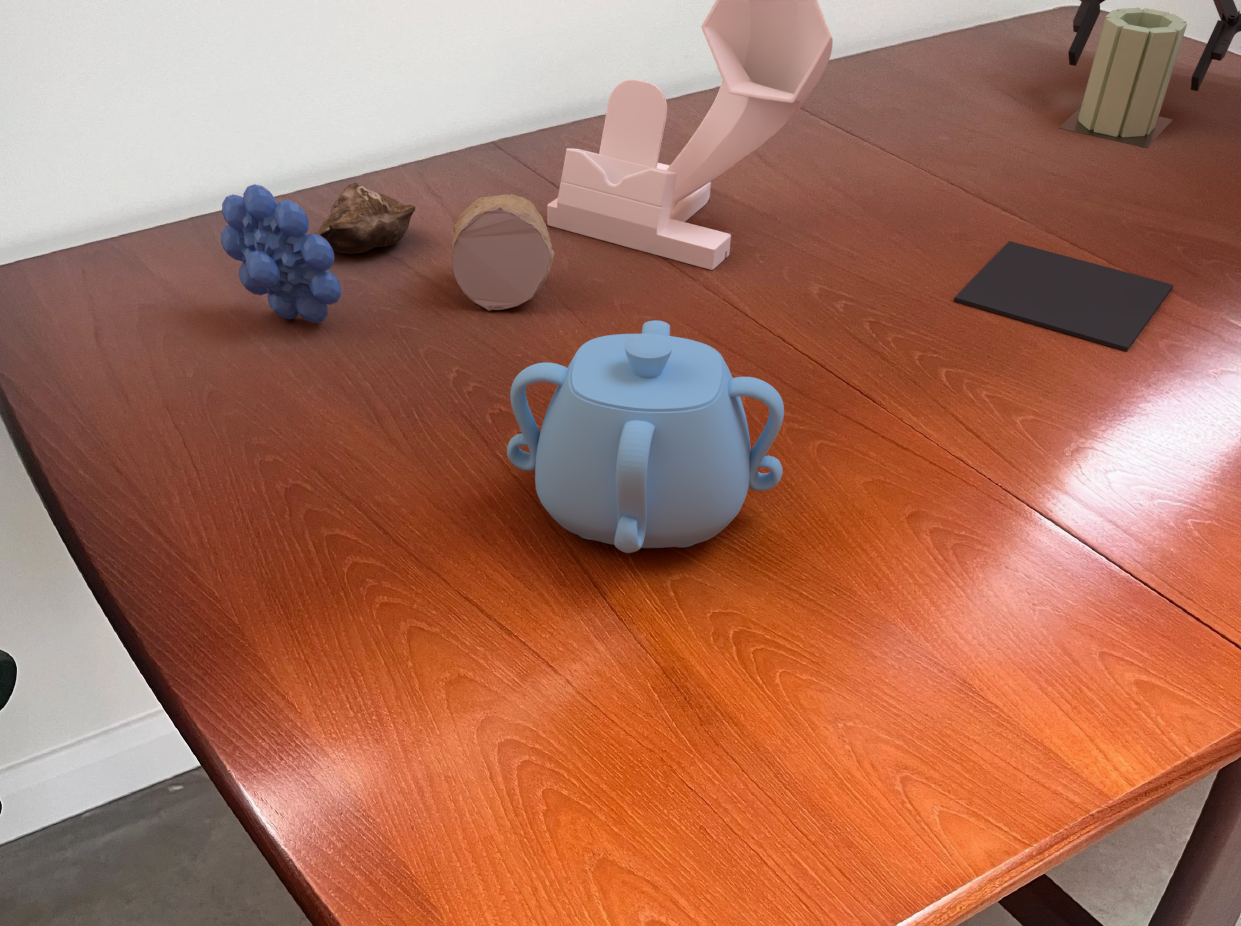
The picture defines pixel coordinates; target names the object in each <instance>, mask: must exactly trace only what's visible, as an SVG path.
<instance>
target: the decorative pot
mask: <svg viewBox="0 0 1241 926" xmlns="http://www.w3.org/2000/svg"><path fill="white" fill-rule="evenodd" d="M569 362H570V363H569V364H568V366H564V365H561V364H559V363H554V362H547V361H546V362H537V363H534V364H531V365H529V366H527V367H525V368H524V369H522V370H521V371H520V372H519V373H518V374H517V375H516V376H515V378H514V380H513V382H512V384H511V387H510V393H509V398H510V405H511V409H512V412H513V415H514V418H515V420H516V423H517V425H518V427H519V429H520V431H521V432H520V433H517V434H515V435H513V436H512V437H511V438H510V440H509V441H508V444H507V447H506V448H507V449H506V454H507V458H508V460H509V462H510V463H511V465H513V466H514V467H515V468H516V469H519V470H522V471H525V472H532V471H534V474H535V475H534V482H535V493H536V494H537V497H538V499H539V502H540V504H541V505H542V506H543V508H544V509H545V510H546V512H547V513H548V514H549V515H550V516H551V518H552V519H553V520H554V521H555V522H557V524H558V525H560V526H561V527H562V528H563V529H565V530H567V531H569V532H570V533H572V534H574V535H578V536H579V537H580V538H582V539H585V540H588V541H589V540H591V541H596V542H600V543H604V544H609V545H614V547H615V548H616V549H617V550H618V551H620V552H623V553H625V554H632V553H635V552H638V551H639V550H640V549H664V548H688V547H692V546H694V545H696V544H700V543H703V542H706V541H709V540H710V539H713V538H714V537H716V536H717V535H719V534H720V533H721V532H723V530H725V529H726V528H727V527H728V526H729V525H730V524H731V522H733V520H735V518H736V517H737V516H738V515H739V513H740V511H741V508H742V507H743V505H744V502H745V500H746V498H747V494H748V491H749V489H750V490H752V491H754V492H766V491H770V490H772V489H774V488H776V487H777V485H779V483H780V482H781V480H782V477H783V473H784V472H783V465H782V463H781V462H780V460H779V459H778V458H776V456H772V455H767V454H768V452H769V451H770V449H771V447H772V445H773V444H774V442H775V440H776V438H777V436H778V434H779V433H780V430H781V427H782V425H783V422H784V417H785V406H784V401H783V398H782V396H781V394H780V393H779V392H778V390H776V388H775V387H774V386H773V385H771V384H770V383H768V382H766V381H765V380H762V379H760V378H757V377H752V376H735V377H733V375H732V372H731V371H730V368H729V366H728V364H727V362H726V361H725V359H724V357H723V355H722V354H721V352H719V351H718V350H717V349H715V348H714V347H712V346H710V345H709V344H706V343H703V342H701V341H697V340H694V339H690V338H685V337H679V336H675V335H674V336H673V335H671V325H670V324H669V323H668V322H666V321H663V320H654V319H653V320H647V321H645V322H644V323H643V324H642V328H641V333H619V334H609V335H603V336H598V337H595V338H592V339H590V340H588V341H586V342H585V343H583V344H582V345H581V346H580V347H579V348H578V350H577V351H576V352H575V354H574V355H573V357H572V359H571V361H569ZM535 383H549V384H554V385H557V386H556V389H555V391H554V392H553V395H552V397H551V399H550V402H549V403H548V406H547V408H546V411H545V415H544V418H543V420H542V424H541V428H539V426H538V424H537V422H536V420H535V417H534V415H533V413H532V410H531V408H530V405H529V401H528V397H527V391H526V389H527V387H528V386H529V385H532V384H535ZM742 397H743V398H744V397H745V398H752V399H755V400H757V401H759V402H762V403H763V404H764V405H765V406H766V407H767V408H768V412H769V413H768V417H767V421H766V423H765V426H764V428H763V430H762V431H761V433H760V435H759V436H758V438H757V440H756V441H755V443H754V445H753V447H752V448H751V439H750V432H749V431H750V429H749V425H748V420H747V415H746V411H745V408H744V404H743V400H742ZM520 446H525V447H528V450H529V452H527V451H524V450H523V449H521V447H520ZM758 469H768V470H769V471H770V472H766V473H765V472H763V473H762V472H759V471H758Z"/></svg>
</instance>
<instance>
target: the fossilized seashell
mask: <svg viewBox="0 0 1241 926" xmlns="http://www.w3.org/2000/svg"><path fill="white" fill-rule="evenodd" d="M415 212H416V206H415V205H413V204H405V203H403V202H400V201H398V200H396V199H394V198H393V197H390V196H388V195H385V194H382V193H379V192H377V191H373V190H370V189H368V188H366V187H365V186H363V185H361V184H359V183H358V182H353V183H350V184H348V185H347V186H346V187H345V188H344V189H343V191H342V192H341V193H340V194H339V196H338V197H337V198H336V200H335V201H334V203H333V205H332V207H331V209H330V212H329V214H328V215H327V216H326V217H325V218H324V219H323V221H322V224H321V225H320V226H319V228H318V229H317V231H316V233H315V234H317V235H320V236H322V237H323V238H325V239H326V240H327V241H328V242H329V244H330V245H331V247H332V249H333V252H336V253H339V254H349V255H353V254H362V253H366V252H369V251H371V250H373V249H375V248H385V247H392V246H393V245H395V244H396V243H397V242H400V241H401V239H403V237H404V236H405V234H406V232H407V231H408V229H409V226H410V222H411V218H412V216H413V214H414V213H415Z"/></svg>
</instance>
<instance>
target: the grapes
mask: <svg viewBox="0 0 1241 926" xmlns="http://www.w3.org/2000/svg"><path fill="white" fill-rule="evenodd" d="M221 214H222V216H223V220H224V221H225V222H226V223H227V225H225V226H224V227H223V229H222V231H221V232H220V243H221V246H222V249H223V250H224V251H225V253H226V254H227V256H229V257H231V258H232V259H234V261H238V262H242V263H241V264H240V265H239V268H238V278H239V280H240V283H241V285H242V286H243V287H244V289H245V290H246V291H248V292H250V293H251V294H253V295H257V296H263V295H266V294H267V302H268V304H269V305H268V306H269V307H270V309H271V310H272V312H273V313H274V314H275V315H276V316H279V318H281V319H284V320H289V321H290V320H292V319H295V318H297V317H298V316H299V315H300V316H301V318H302V319H304V320H305V321H307V322H309V323H312V324H319V323H322V322H324V321H325V320H326V318H327V317H328V316H329V315H328V314H329V306H331V305H334V304H336V303H339V300H340V298H341V297H342V285H341V283H340V281H339V279H338V278H337V276H336V275H335V274H334V273H333V272H332V271H330V269H331V268H332V266H333V265H334V263H335V251H334V250H333V249H332V247H331V245H330V244H329V242H328V241H327V240H326V239H325V238H323V237H322V236H320V235H317V234H316V233H313V232H311V233H309V234H308V231H309V230H310V220H309V217H308V215H307V213H306V211H305V210H304V209H303V207H302V206H301V205H299V204H298V203H297V202H295V201H292V200H289V199H284V200H281V201H279V202H277V200H276V198H275V196H274V195H273V194H272V193H271V191H270V190H268V189H267V188H266V187H265V186H263V185H260V184H251V185H248V186H247V187H246V188H245V190H244V192H243V194H242V195H237V194H235V193H232V194H230V195H227V196H225V198H224V199H223V201H222V203H221Z"/></svg>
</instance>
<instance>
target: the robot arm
mask: <svg viewBox="0 0 1241 926" xmlns="http://www.w3.org/2000/svg"><path fill="white" fill-rule="evenodd" d="M1079 1H1080V4H1079V7H1078V9H1077V11H1076V13H1075V15H1074V17H1073V20H1072V28H1073V29H1072V30H1073V33H1076V34H1075V36H1074V38H1073V40H1072V43H1071V45H1070V46H1069V49H1068V52H1067V54H1068V65H1069V66H1073V67H1076V66H1077V65H1078V62H1079V60H1080V58H1081V56H1082V54H1083V51H1084V49H1085V47H1086V45H1087V42H1088V41H1089V38H1090V36H1091V33H1092V31H1093V29H1094V27H1095V25H1096V22H1097V21H1098V19H1099V16H1100V14H1101V4H1102V3H1104V2H1105V1H1106V0H1079ZM1212 2H1213V3H1214V6H1215V9H1216V10H1217V14H1218V16H1219V19H1217V21H1216V23H1215V26H1214V28H1213V30H1212V32H1211V34H1210V36H1209V38H1208V41H1207V43H1206V45H1205V47H1204V50H1203V52H1202V54H1201V56H1200V58H1199V60H1198V63H1197V65H1196V66H1195V69H1194V70H1193V73H1192V76H1191V81H1190V90H1191V91H1194V92H1199V89H1200V87H1201V86H1202V83H1203V81H1204V80H1205V79H1204V78H1205V76H1206V74H1207V72H1208V71H1209V68H1210V65H1211V63H1212V62H1213V61H1219V62H1221V61H1222V60H1223V59H1225V57H1226V55H1227V52H1228V51H1229V48H1230V45H1231V43H1232V41H1233V39H1234V37H1235V36H1236V35H1237V34H1238V33H1240V32H1241V10H1238V8H1237V5H1236V3H1235V1H1234V0H1212Z"/></svg>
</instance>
